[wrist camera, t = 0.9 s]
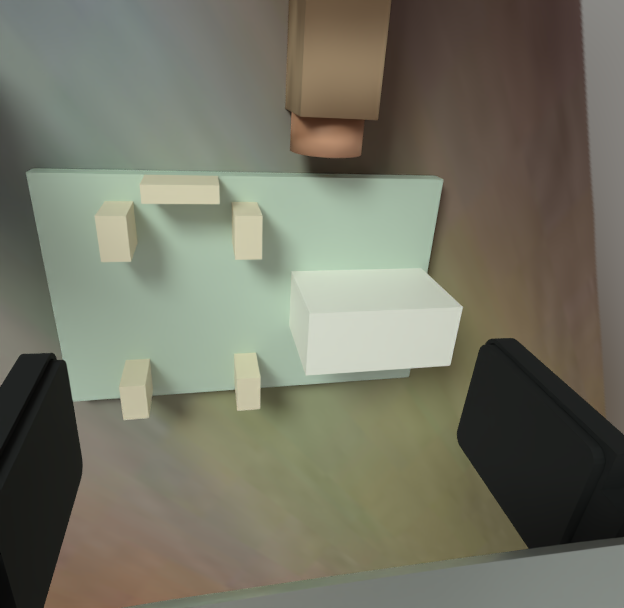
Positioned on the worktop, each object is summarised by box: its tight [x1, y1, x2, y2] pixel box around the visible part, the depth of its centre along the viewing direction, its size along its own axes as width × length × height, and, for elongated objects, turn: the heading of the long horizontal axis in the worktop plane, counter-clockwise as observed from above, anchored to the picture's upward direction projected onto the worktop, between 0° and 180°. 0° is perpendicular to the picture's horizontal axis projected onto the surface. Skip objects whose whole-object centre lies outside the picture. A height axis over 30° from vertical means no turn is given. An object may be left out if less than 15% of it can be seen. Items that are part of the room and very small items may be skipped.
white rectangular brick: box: [289, 268, 463, 376], centre depth 30 cm, size 4×9×6 cm, turn 87°
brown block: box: [285, 0, 391, 158], centre depth 24 cm, size 13×4×5 cm, turn 177°
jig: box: [26, 168, 443, 420], centre depth 30 cm, size 15×24×4 cm, turn 87°
